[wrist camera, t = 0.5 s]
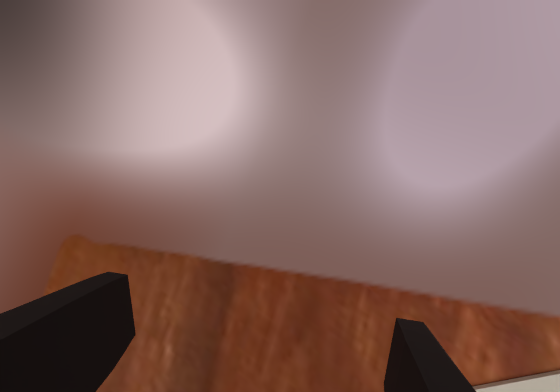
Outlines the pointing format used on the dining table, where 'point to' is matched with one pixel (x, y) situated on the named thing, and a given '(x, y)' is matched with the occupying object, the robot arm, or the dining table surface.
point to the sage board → (525, 384)
